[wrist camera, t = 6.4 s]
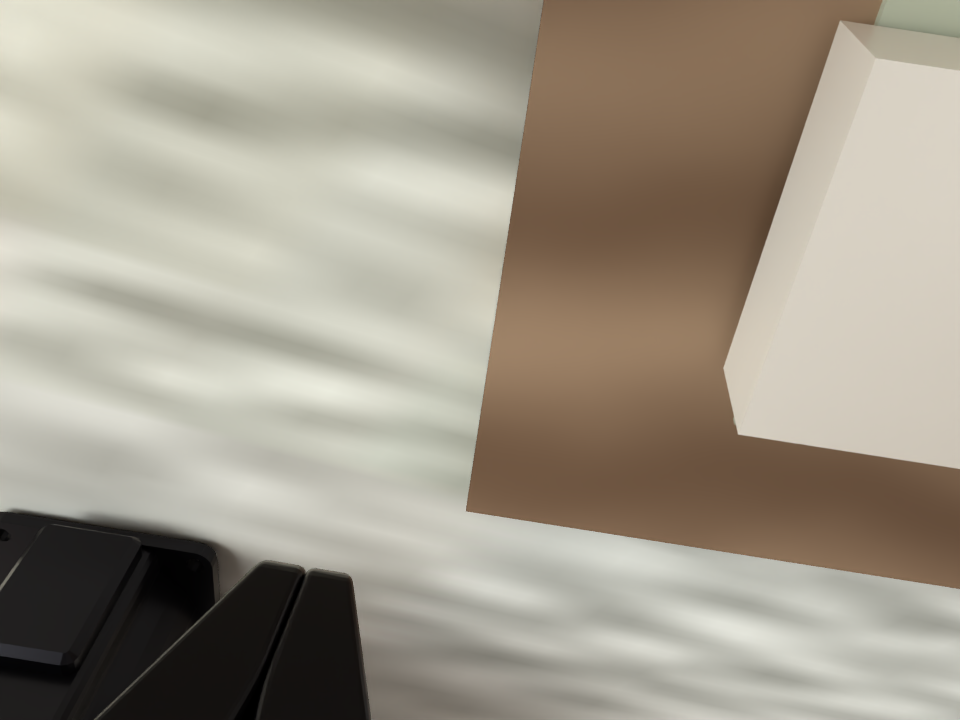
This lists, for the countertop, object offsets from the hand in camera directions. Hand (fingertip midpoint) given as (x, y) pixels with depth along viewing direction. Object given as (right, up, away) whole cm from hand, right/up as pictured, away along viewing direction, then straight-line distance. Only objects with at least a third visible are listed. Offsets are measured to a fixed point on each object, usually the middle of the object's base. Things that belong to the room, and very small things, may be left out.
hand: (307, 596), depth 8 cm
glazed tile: (+7, +4, +7) cm, 11 cm away
